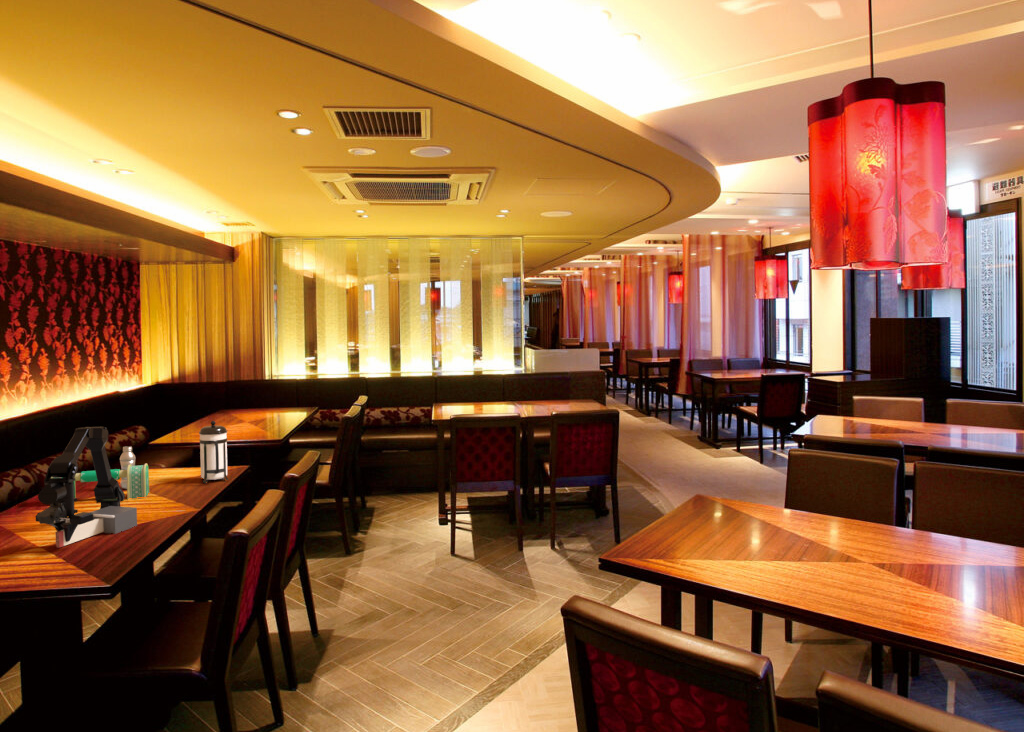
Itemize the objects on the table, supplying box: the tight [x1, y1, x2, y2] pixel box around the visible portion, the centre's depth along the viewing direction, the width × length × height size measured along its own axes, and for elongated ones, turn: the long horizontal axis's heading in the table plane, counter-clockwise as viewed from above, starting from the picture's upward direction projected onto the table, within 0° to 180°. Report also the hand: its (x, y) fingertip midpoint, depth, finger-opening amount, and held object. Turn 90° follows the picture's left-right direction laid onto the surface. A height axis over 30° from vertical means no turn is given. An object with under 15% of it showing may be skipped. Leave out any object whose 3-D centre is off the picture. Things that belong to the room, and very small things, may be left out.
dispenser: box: [90, 506, 138, 535], centre depth 237 cm, size 11×12×7 cm
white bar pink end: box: [55, 517, 104, 549], centre depth 225 cm, size 19×1×5 cm, turn 167°
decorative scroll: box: [51, 463, 150, 500], centre depth 279 cm, size 36×8×15 cm, turn 111°
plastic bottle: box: [119, 445, 136, 490], centre depth 298 cm, size 6×7×20 cm
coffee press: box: [198, 420, 229, 484], centre depth 314 cm, size 17×16×30 cm
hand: (65, 541), depth 218 cm, fingers closed on white bar pink end
